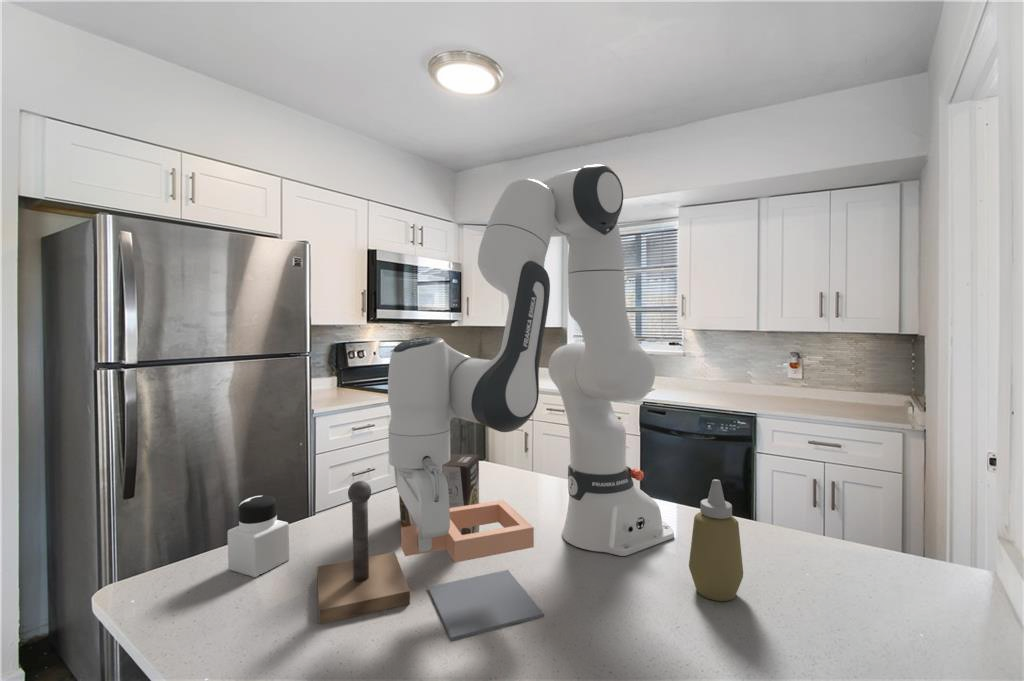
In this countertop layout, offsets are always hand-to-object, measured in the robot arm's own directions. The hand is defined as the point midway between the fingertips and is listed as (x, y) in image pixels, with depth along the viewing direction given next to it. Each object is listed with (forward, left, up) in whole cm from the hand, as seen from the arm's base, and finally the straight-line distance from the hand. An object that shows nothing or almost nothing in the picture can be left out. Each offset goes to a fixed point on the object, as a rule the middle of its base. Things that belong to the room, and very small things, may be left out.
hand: (421, 542), depth 72 cm
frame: (-6, 0, -1) cm, 6 cm away
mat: (-10, 0, -11) cm, 15 cm away
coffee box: (-13, -23, -11) cm, 28 cm away
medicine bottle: (+23, -27, -11) cm, 38 cm away
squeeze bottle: (-45, +12, -11) cm, 47 cm away
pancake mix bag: (-6, -35, -11) cm, 37 cm away
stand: (+7, -11, -11) cm, 17 cm away
